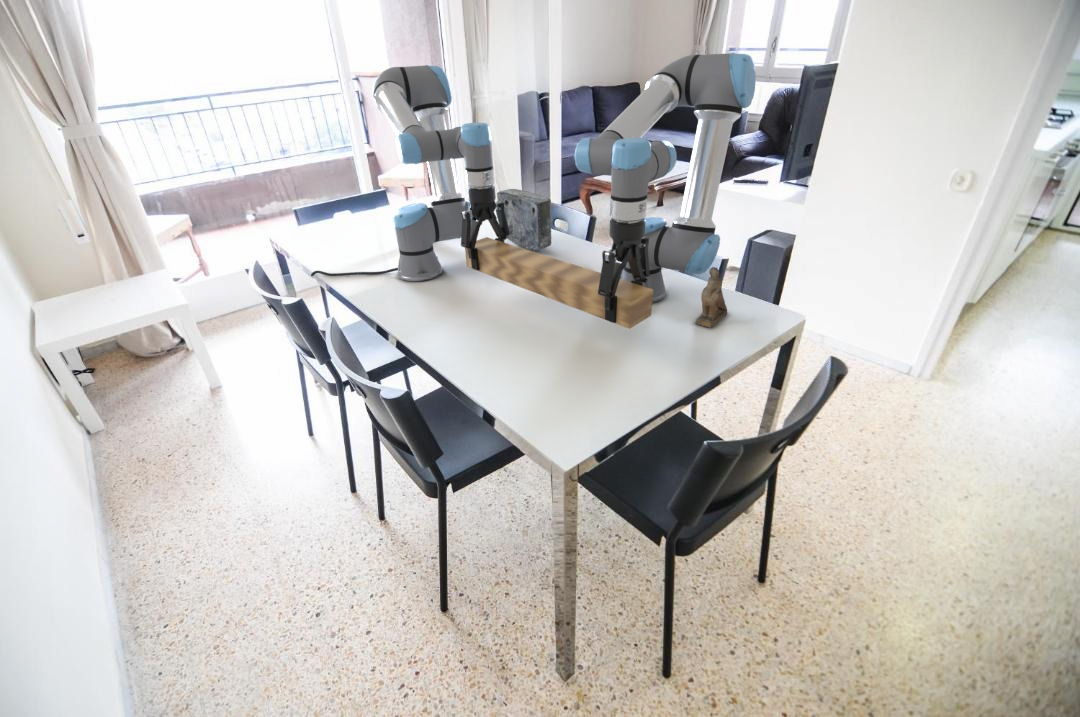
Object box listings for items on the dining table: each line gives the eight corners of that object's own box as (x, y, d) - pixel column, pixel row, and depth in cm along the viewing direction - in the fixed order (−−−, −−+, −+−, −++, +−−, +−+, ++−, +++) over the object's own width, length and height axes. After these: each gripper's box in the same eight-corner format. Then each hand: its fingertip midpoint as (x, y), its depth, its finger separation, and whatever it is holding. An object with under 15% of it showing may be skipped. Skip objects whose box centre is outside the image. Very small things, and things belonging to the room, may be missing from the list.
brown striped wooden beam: (467, 266, 148) (464, 244, 144) (488, 258, 153) (486, 237, 149) (629, 329, 112) (631, 301, 108) (651, 315, 117) (653, 289, 113)
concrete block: (556, 252, 190) (555, 199, 179) (537, 257, 186) (535, 203, 175) (517, 236, 209) (515, 187, 198) (500, 240, 204) (496, 190, 194)
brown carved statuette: (709, 335, 136) (713, 280, 124) (691, 329, 139) (693, 274, 128) (730, 313, 142) (736, 258, 130) (712, 307, 145) (716, 253, 133)
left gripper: (456, 195, 126) (466, 278, 138) (519, 180, 139) (523, 257, 151) (440, 191, 131) (451, 271, 143) (502, 177, 143) (507, 252, 155)
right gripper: (609, 234, 97) (606, 335, 109) (671, 210, 109) (662, 303, 121) (580, 227, 101) (580, 325, 113) (643, 204, 114) (637, 295, 126)
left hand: (488, 264), depth 147 cm, fingers closed on brown striped wooden beam, 9 cm apart
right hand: (622, 313), depth 117 cm, fingers closed on brown striped wooden beam, 9 cm apart
